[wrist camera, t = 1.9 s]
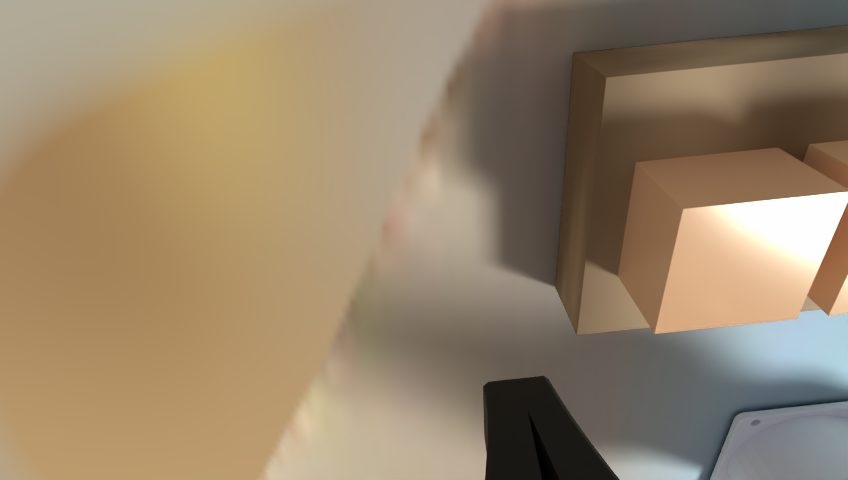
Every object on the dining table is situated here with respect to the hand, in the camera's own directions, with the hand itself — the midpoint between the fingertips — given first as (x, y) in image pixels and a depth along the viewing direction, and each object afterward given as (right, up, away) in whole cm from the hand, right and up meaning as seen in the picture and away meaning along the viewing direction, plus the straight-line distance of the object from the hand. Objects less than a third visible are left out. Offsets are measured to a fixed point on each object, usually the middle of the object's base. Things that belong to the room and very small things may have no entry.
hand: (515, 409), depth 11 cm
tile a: (+7, +5, +6) cm, 10 cm away
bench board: (+10, +7, +8) cm, 14 cm away
